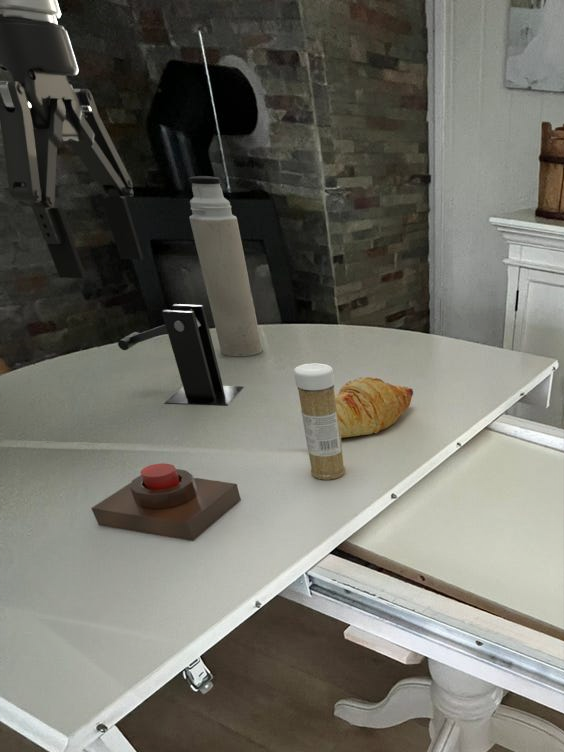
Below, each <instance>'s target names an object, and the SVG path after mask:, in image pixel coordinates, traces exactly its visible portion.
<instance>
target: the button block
mask: <svg viewBox="0 0 564 752" xmlns="http://www.w3.org/2000/svg"><path fill="white" fill-rule="evenodd" d="M176 471H177V474H178V477H179V480H180V483H178V484H177V485H175V486H173V487H170V488H167V489H157V490H152V489H147V488H146V486H145V484H144V481H143V478H142V475H141V474H140V475H139V476H137V477H136V478H134V479H133V480H132V481H131V482H130V483H128V484H126V485H125V486H122V488H120V489H119V490H117V491H116V492H113V494H111V495H109V496H108V497H106V498H104V499H103V500H101V501H100V502H99V503H97V504H96V505H94V506H92V507H91V511H92V514H93V516H94V517H95V520H96V523H97V524H98V526H99V527H105V528H113V529H117V530H125V531H130V532H137V533H142V534H149V535H155V536H159V537H160V536H161V537H168V538H173V539H174V538H175V539H178V540H185V541H190V542H194V541H195V540H196V539H197V538H198V537H200V536H201V535H202V534H203V533H205V532H206V531H207V530H208V529H209V528H210V527H211V526H212V525H214V524H215V523H216V522H218V520H220V519H221V518H222V517H224V516H225V515H226V513H228V512H229V511H230V510H231V509H232V508H234V507H235V506H236V505H237V504H238V503H239V502H241V501H242V499H241V494H240V490H239V487H238V484H237V483H233V482H227V481H221V480H214V479H207V478H199V477H194V474H192V473H191V472H189V471H188V470H185V469H180V468H179V469H178V468H176Z"/></svg>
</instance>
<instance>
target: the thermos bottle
mask: <svg viewBox="0 0 564 752" xmlns="http://www.w3.org/2000/svg"><path fill="white" fill-rule="evenodd" d="M189 182H190V183H191V189H192V195H193V197H192V198H191V199H190V200H189V204H190V210H191V213H192V215H190V216H189V222H190V225H191V226H190V227H191V230H192V234H193V239H194V243H195V249H196V251H197V255H198V261H199V264H200V269H201V273H202V277H203V282H204V286H205V290H206V295H207V297H208V302H209V306H210V310H211V315H212V319H213V324H214V327H215V332H216V335H217V340H218V344H219V349H220V352H221V354H222V355H225V356H228V357H240V358H241V357H251V356H254V355H255V356H256V355H258V354H260V353H261V352H263V345H262V339H261V336H260V331H259V325H258V320H257V315H256V310H255V305H254V300H253V299H254V298H253V294H252V290H251V285H250V279H249V274H248V270H247V264H246V259H245V253H244V248H243V247H244V246H243V243H242V242H243V241H242V238H241V233H240V228H239V223H238V218H237V216H236V215H234V214H233V213H232V205H231V202H230V200H228V199H227V198H225V197H224V192H223V189H222V187H221V179H220V177H218V176H217V177H216V176H208V175H197V176H189Z"/></svg>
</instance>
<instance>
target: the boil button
mask: <svg viewBox="0 0 564 752" xmlns="http://www.w3.org/2000/svg"><path fill="white" fill-rule="evenodd" d="M176 469H177V468H176V466H175V465H174V464H172V463H166V462H164V463H163V462H162V463H153V464H150V465H147V466H144V467H143V468H142V469H141V470H140V475H142V478H143V481H144V484H145V486H146V488H147V489H152V490H157V489H167V488H170V487H173V486H175V485H177V484H178V483H180V480H179V477H178V474H177V471H176Z"/></svg>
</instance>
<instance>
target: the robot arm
mask: <svg viewBox="0 0 564 752" xmlns="http://www.w3.org/2000/svg"><path fill="white" fill-rule="evenodd" d="M61 16H62V12H61V8H60V6H59V2H58V0H0V71H2V72H6V73H9V74H10V78H11V80H0V130H1V137H2V147H3V152H4V161H5V169H6V175H7V182H8V183H7V184H8V190H9V195H10V197H11V198H12V199H13V200H14V201H17V202H18V204H19V205H20V206H21V207H22V208H23V207H25V208H31V209H32V213H33V214H34V216H35V220H36V222H37V224H38V227H39V230H40V232H41V235H42V238H43V240H44V241H45V243H46V245H47V248H48V250H49V253H50V256H51V258H52V261H53V264H54V267H55V269H56V271H57V275H58V277H59V278H61V279H86V278H87V274H86V272H85V268H84V266H83V263H82V261H81V257H80V255H79V252H78V249H77V247H76V243H75V241H74V238H73V235H72V233H71V230H70V227H69V224H68V221H67V218H66V215H65V213H64V210H63V207H58V206H57V207H56V206H55V204H56V203H55V201H56V182H57V181H56V180H57V162H58V161H57V159H58V147H60V146H61V145H62V144H63V142H64V144H67V145H68V146H70V147H71V148H72V149H73V151H74V153H75V154H76V155H77V156H78V158H79V159H80V161H81V162H82V164H83V165H84V167H85V168H86V169H87V171H88V172H89V173H90V175H91V177H92V178H93V179H94V181H95V182H96V183H97V185H98V186H99V188H100V190H101V191H102V192H103V193H104V194H105V196H102V197H101V201H102V204H103V207H104V210H105V214H106V217H107V220H108V223H109V227H110V230H111V233H112V235H113V240H114V242H115V245H116V248H117V249H116V250H117V252H118V254H119V258H120V260H137V261H138V260H140V261H141V260H143V259H145V258H144V255H143V252H142V249H141V245H140V242H139V237H138V235H137V231H136V228H135V225H134V221H133V218H132V215H131V211H130V208H129V205H128V201H127V198H128V197H129V198H133V197H134V190H133V189H134V188H133V182H132V179H131V176H130V175H129V173H128V171H127V168H126V167H125V165H124V163H123V161H122V158H121V157H120V155H119V153H118V151H117V148H116V146H115V144H114V142H113V141H112V138H111V136H110V135H109V133H108V131H107V128H106V126H105V124H104V122H103V120H102V118H101V117H100V114H99V110H98V108H97V105H96V103H95V99H94V97H93V94H92V91H90V89H88V88H73V85H72V83H71V80H70V76H71V77H75V76H78V74H79V66H78V62H77V59H76V56H75V53H74V50H73V46H72V42H71V40H70V36H69V33H68V30H66V29H65V26H63V25H61V24H58V20H57V19H60V18H61Z"/></svg>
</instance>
